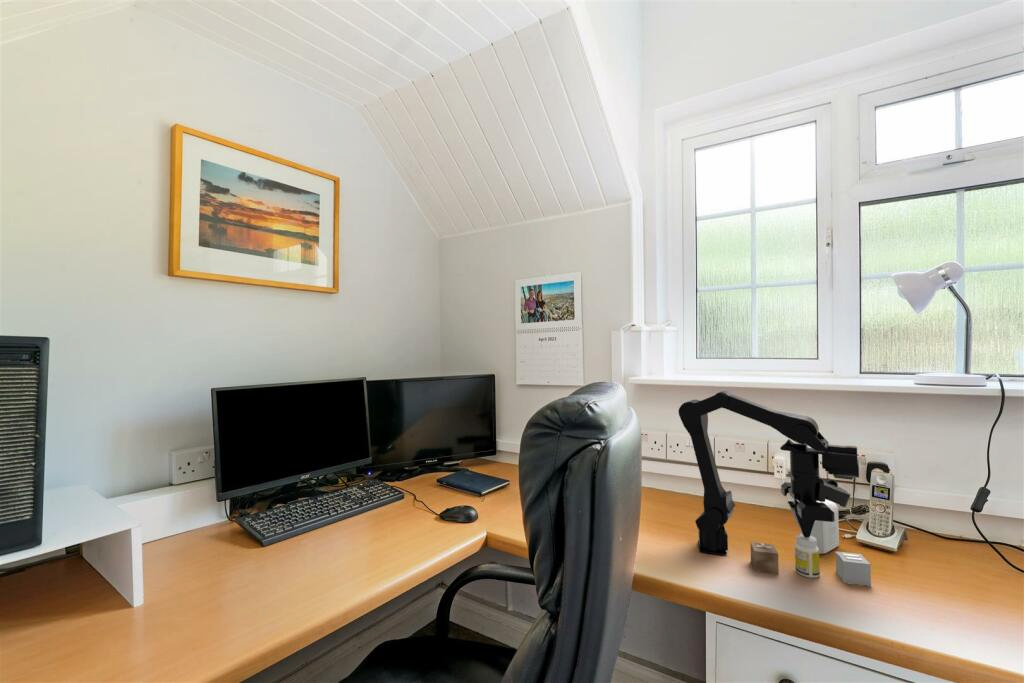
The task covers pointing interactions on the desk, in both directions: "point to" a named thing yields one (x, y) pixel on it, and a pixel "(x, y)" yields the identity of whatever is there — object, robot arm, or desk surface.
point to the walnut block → (764, 558)
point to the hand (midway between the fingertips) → (806, 536)
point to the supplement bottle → (807, 556)
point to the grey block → (853, 568)
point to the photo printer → (827, 531)
